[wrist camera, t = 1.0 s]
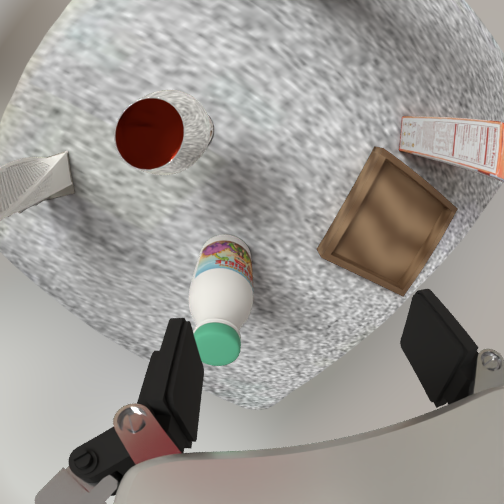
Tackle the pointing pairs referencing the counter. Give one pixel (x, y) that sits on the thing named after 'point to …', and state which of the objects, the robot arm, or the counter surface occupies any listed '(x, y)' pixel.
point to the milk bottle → (221, 298)
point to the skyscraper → (33, 182)
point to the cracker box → (456, 142)
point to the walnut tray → (387, 224)
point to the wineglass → (163, 132)
